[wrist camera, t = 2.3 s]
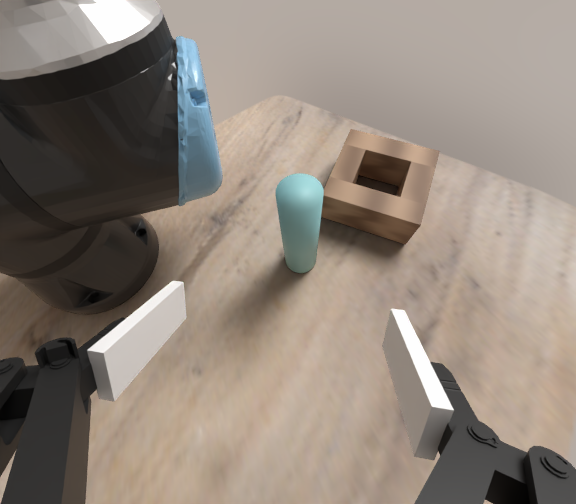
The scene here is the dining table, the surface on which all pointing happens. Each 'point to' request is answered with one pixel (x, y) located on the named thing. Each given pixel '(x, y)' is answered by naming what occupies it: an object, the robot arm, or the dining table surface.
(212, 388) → the dining table surface
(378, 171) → the socket block
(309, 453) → the dining table surface
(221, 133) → the dining table surface
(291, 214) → the dowel
